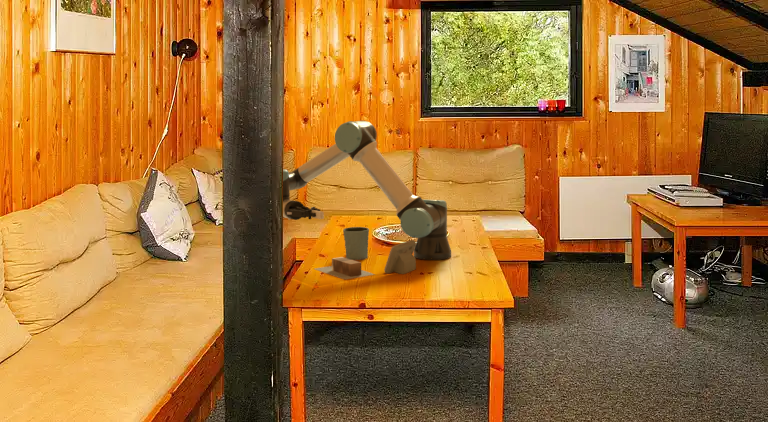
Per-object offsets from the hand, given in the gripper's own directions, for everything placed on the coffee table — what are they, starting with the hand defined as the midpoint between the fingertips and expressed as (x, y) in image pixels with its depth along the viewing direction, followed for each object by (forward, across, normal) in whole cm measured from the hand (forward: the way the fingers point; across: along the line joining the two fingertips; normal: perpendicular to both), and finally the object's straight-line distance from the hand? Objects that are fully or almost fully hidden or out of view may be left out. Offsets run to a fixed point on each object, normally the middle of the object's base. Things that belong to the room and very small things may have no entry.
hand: (322, 215), depth 308 cm
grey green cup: (-4, -18, -20) cm, 27 cm away
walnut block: (+10, 0, -17) cm, 20 cm away
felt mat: (+14, 0, -20) cm, 24 cm away
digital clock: (+24, -18, -21) cm, 37 cm away
